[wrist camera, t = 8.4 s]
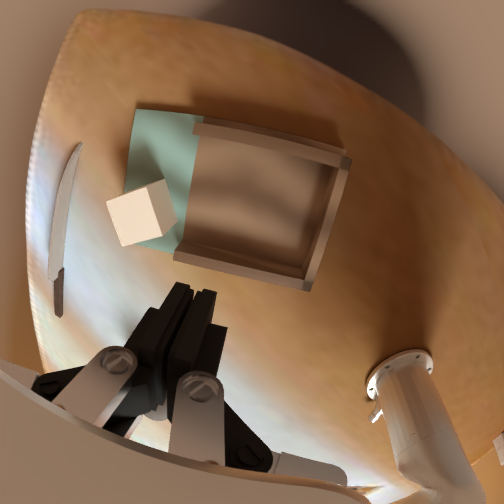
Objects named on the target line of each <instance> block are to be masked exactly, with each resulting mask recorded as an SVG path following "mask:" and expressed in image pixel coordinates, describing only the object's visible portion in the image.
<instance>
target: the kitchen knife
mask: <svg viewBox="0 0 504 504" xmlns="http://www.w3.org/2000/svg"><path fill="white" fill-rule="evenodd" d="M82 146H83V143H82V142H80V143H79V145H78V146H77V148H76V149H75V150H74V152H73V154H72V156H71V158H70V160H69V162H68V164H67V166H66V169H65V171H64V174H63V177H62V179H61V182H60V186H59V189H58V193H57V198H56V204H55V210H54V216H53V223H52V230H51V238H50V246H49V258H48V279H50V280H51V281H54V298H55V299H54V306H55V315H56V316H58V317H59V318H60V317H61V316H62V315H63V282H64V268H63V259H64V247H65V237H66V228H67V217H68V208H69V201H70V195H71V189H72V183H73V178H74V173H75V168H76V164H77V161H78V158H79V155H80V152H81V150H82Z"/></svg>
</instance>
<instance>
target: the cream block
mask: <svg viewBox="0 0 504 504" xmlns="http://www.w3.org/2000/svg"><path fill="white" fill-rule="evenodd" d="M106 204H107V207H108V210H109V212H110V215H111V218H112V221H113V224H114V227H115V229H116V232H117V235H118V237H119V240H120V242H121V245H122V247H123V246H127V245H131V244H134V243H138V242H142V241H145V240H149V239H153V238H157V237H161V236H163V235H164V234H165V233H166V232H167V231H168V230H169V229H170V228H171V227H172V226H173V225H175V224H176V223H177V222H178V218H177V215H176V212H175V209H174V206H173V203H172V200H171V196H170V193H169V190H168V187H167V183H166V180H165V179H162V180H159V181H156V182H153V183H150V184H148V185H145V186H142V187H139V188H136V189H133V190H131V191H128V192H126V193H124V194H121V195H119V196H117V197H115V198H113V199H111V200H108V201H106Z"/></svg>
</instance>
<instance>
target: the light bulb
mask: <svg viewBox="0 0 504 504" xmlns="http://www.w3.org/2000/svg"><path fill="white" fill-rule="evenodd" d="M144 415H145V416H146V417H148V418H149V419H152V420H155V421H163V420H166V419H168V418H167V398H166V400H165V403H164V405H163V406H161V405H158V407H157V410H156V412H155V411H152V410H151V411H150V412H149V413H146V414H144Z"/></svg>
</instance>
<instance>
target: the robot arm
mask: <svg viewBox="0 0 504 504" xmlns="http://www.w3.org/2000/svg"><path fill="white" fill-rule="evenodd" d="M216 295H217V292H215V291H211V290H207V289H203V291H202V292H200V291H197V293H196V295H195V297H194V299H193V296H194V290H193V289H190V285H187V284H184V283H180V282H176V283H175V285H174V286H173V288H172V289H171V291H170V292H169V294H168V296H167V297H166V299H165V300H164V302H163V304H162V305H161V307H160V308H159V309H156V308H152V307H150V308H149V309H148V310H147V312H146V313H145V315H144V316H143V318H142V319H141V321H140V322H139V324H138V325H137V327H136V328H135V330H134V331H133V333H132V335H131V336H130V338H129V339H128V341H127V342H126V344H125V345H124V347H122V346H109V347H106V348H104V349H102V350H101V351H100V352H99V353H98V354H97V355H96V356H95V357H94V358H93V359H92V360H91V361H90V362H89V363H88V364H87V365H85V366H80V367H76V368H71V369H66V370H62V371H57V372H51V373H47V374H44V375H41V376H40V375H39V374H38V372H36V371H33V370H30V369H27V368H24V367H21V366H18V365H15V364H13V363H10V362H7V361H5V360H2V359H0V504H371V503H370V501H369V500H368V499H367V498H366V497H365V496H363V495H362V494H360V493H358V492H356V491H354V490H352V489H350V488H347V476H346V474H345V472H344V471H343V470H342V469H341V468H340V467H338V466H335V465H332V464H327V463H323V462H319V461H314V460H310V459H306V458H303V457H299V456H295V455H292V454H288V453H285V452H281V454H280V453H276V452H273V451H271V450H270V449H269V448H268V446H267V445H266V444H265V443H264V442H263V441H262V440H261V439H260V438H259V437H258V436H257V435H256V434H255V433H254V432H253V431H252V430H251V429H250V428H249V427H248V426H247V425H246V424H245V423H244V422H243V421H242V420H241V418H240V417H239V416H238V415H237V414H236V413H235V412H234V411H233V410H232V409H231V407H230V406H229V405H228V404H227V403H226V402H225V401H224V389H223V385H222V383H221V382H220V380H219V379H218V378H216V376H217V372H218V367H219V363H220V359H221V355H222V350H223V346H224V342H225V337H226V333H227V328H228V327H223V326H219V325H215V324H211V322H212V317H213V311H214V306H215V300H216ZM432 369H433V360H432V358H431V356H430V355H429V354H428V353H427V352H426V351H424V350H420V349H411V350H406V351H402V352H400V353H397V354H395V355H393V356H391V357H389V358H387V359H386V360H384V361H383V362H382V363H380V364H379V365H378V366H377V367H376V368H375V369H374V370H373V371H372V373H371V374H370V375H369V377H368V379H367V382H366V390H367V393H368V395H369V397H370V398H371V399H373V400H375V401H376V403H377V404H376V405H375V409H374V410H373V411H372V412H371V413H370V414H369V416H368V419H369V421H371V422H376V420H377V419H378V418H379V417H380V416H381V414H383V416H384V419H385V423H386V427H387V430H388V434H389V438H390V442H391V445H392V449H393V453H394V457H395V461H396V465H397V469H398V471H399V473H400V474H401V475H402V476H403V477H404V478H405V479H407V480H409V481H411V482H414V483H417V484H419V485H420V486H421V489H420V490H419V491H418V492H415V493H413V494H412V495H410V496H408V497H405V498H403V499H400V500H398V501H395V502H393V503H390V504H486V496H485V492H484V490H483V487H482V485H481V483H480V481H479V480H478V478H477V476H476V474H475V472H474V471H473V469H472V467H471V465H470V463H469V461H468V459H467V457H466V455H465V452H464V450H463V448H462V445H461V443H460V441H459V438H458V436H457V433H456V431H455V428H454V426H453V424H452V421H451V419H450V417H449V414H448V412H447V410H446V408H445V405H444V403H443V401H442V399H441V397H440V394H439V392H438V390H437V388H436V386H435V384H434V382H433V380H432V378H431V376H430V374H431V372H432ZM166 398H167V418H168V420H169V421H170V422H171V424H172V425H171V433H170V442H169V451H168V453H167V452H164V451H161V450H158V449H155V448H151V447H149V446H146V445H143V444H140V443H137V442H134V441H132V440H129V438H130V437H131V435H132V433H133V432H134V430H135V429H136V427H137V426H138V424H139V423H140V421H141V419H142V417H143V414H146V413H149V412H150V411H151V410H152V411H155V412H156V410H157V407H158V405H161V406H163V405H164V403H165V400H166Z"/></svg>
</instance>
